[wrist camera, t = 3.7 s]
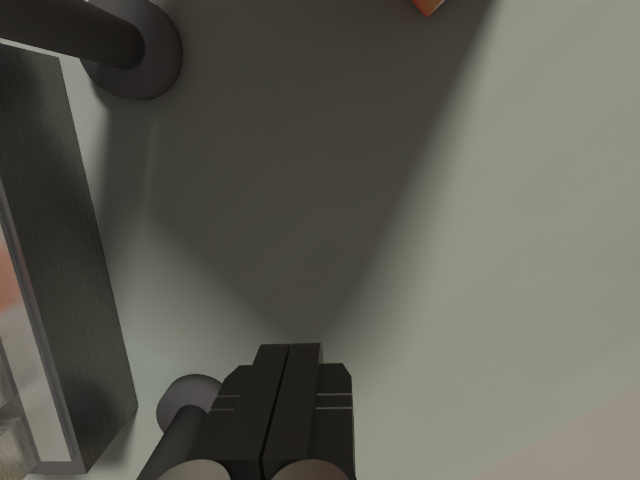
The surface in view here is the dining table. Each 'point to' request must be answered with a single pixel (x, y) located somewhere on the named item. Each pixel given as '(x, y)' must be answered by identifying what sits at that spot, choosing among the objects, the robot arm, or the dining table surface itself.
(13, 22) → the stand
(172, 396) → the stand
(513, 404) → the dining table surface
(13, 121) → the breaker strip
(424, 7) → the cracker box
